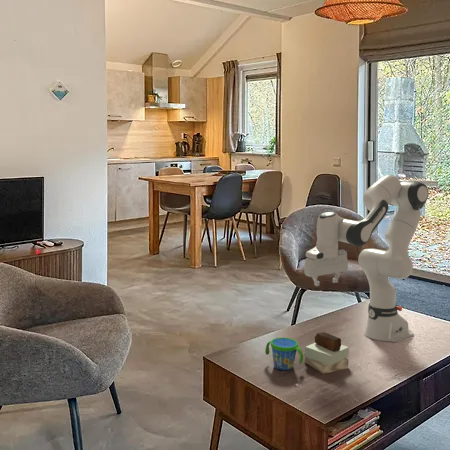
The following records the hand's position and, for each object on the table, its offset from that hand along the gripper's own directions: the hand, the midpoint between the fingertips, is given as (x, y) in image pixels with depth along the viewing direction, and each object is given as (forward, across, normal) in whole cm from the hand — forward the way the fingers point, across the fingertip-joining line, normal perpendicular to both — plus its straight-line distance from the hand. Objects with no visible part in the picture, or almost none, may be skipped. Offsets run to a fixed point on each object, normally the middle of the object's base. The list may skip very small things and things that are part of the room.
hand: (326, 284), depth 229 cm
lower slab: (+28, +10, +14) cm, 33 cm away
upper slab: (+24, +10, +14) cm, 30 cm away
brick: (+21, +10, +14) cm, 27 cm away
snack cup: (+28, +26, +9) cm, 39 cm away
